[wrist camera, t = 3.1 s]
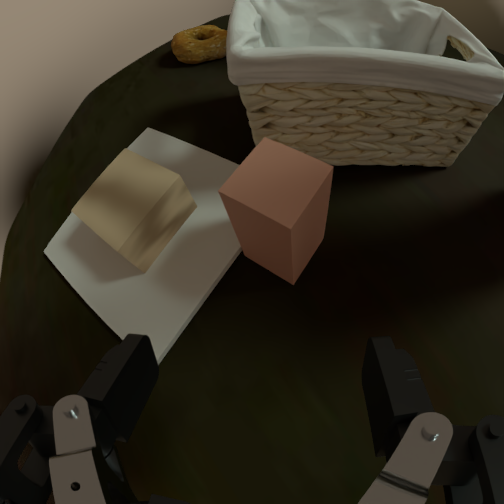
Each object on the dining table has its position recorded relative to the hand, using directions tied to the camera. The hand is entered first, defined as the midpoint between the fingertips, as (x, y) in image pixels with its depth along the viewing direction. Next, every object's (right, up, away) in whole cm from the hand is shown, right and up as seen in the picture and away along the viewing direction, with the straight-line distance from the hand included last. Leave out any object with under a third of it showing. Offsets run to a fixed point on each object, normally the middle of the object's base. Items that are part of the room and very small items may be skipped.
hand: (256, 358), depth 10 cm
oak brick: (-11, +7, +19) cm, 23 cm away
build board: (-11, +7, +19) cm, 23 cm away
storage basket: (+12, +18, +21) cm, 31 cm away
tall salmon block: (+3, +4, +16) cm, 17 cm away
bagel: (-8, +37, +33) cm, 50 cm away
